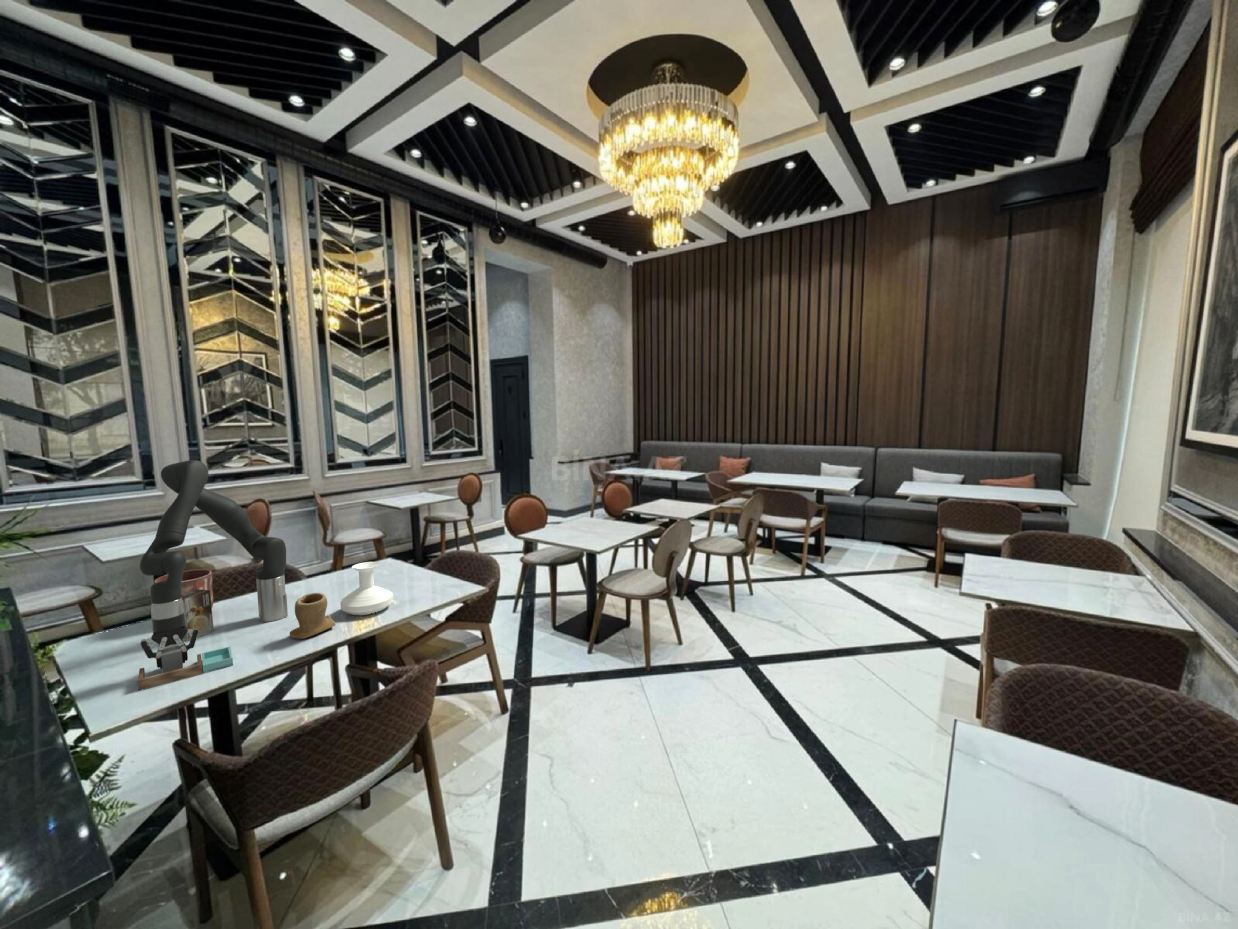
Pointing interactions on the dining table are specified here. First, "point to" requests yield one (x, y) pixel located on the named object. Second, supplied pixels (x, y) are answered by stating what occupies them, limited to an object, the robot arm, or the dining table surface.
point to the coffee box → (198, 612)
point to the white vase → (366, 593)
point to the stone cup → (311, 616)
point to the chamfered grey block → (171, 658)
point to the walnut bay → (169, 675)
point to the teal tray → (217, 659)
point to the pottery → (194, 581)
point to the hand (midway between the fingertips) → (172, 665)
